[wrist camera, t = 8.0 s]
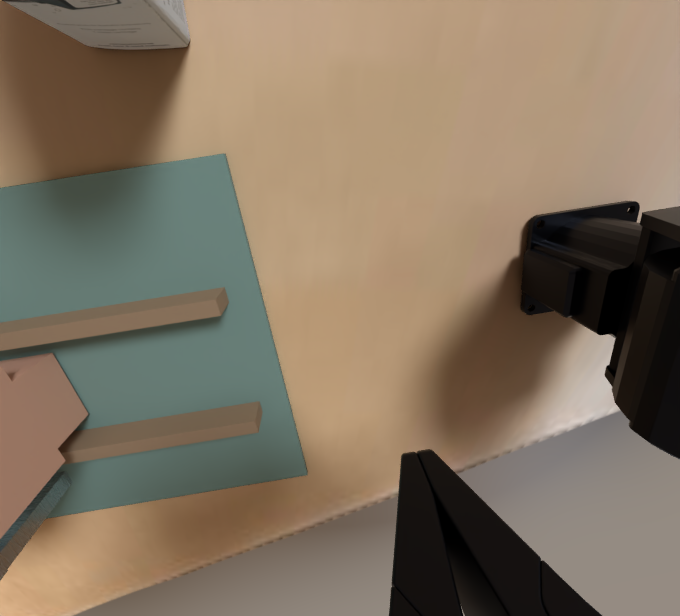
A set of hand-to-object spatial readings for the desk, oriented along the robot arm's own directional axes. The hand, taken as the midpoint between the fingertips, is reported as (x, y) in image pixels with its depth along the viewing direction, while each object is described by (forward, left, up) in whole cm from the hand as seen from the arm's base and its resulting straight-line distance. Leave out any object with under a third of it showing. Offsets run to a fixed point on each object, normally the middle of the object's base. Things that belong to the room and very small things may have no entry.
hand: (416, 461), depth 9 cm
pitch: (+20, +3, -13) cm, 24 cm away
